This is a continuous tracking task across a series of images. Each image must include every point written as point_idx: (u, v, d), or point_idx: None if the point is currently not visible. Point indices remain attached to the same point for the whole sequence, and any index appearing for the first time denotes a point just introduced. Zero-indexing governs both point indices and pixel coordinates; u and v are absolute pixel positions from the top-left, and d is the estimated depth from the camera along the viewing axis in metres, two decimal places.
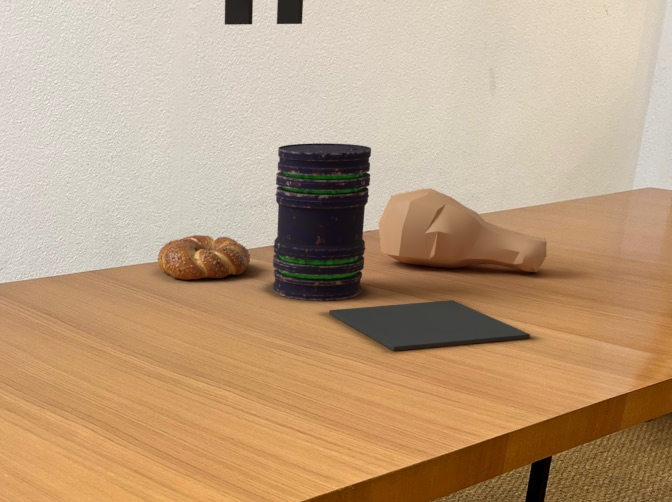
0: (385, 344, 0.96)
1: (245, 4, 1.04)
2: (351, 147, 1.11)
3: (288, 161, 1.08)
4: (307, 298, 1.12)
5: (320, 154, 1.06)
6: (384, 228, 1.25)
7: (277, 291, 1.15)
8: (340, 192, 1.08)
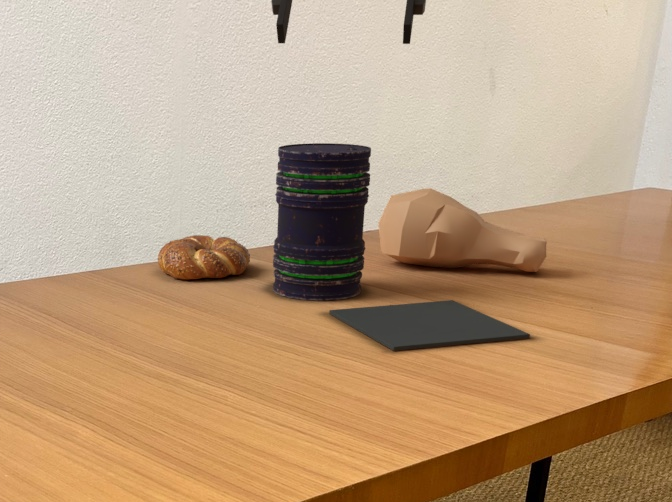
0: (385, 344, 0.96)
1: None
2: (351, 147, 1.11)
3: (288, 161, 1.08)
4: (307, 298, 1.12)
5: (320, 154, 1.06)
6: (384, 228, 1.25)
7: (277, 291, 1.15)
8: (340, 192, 1.08)
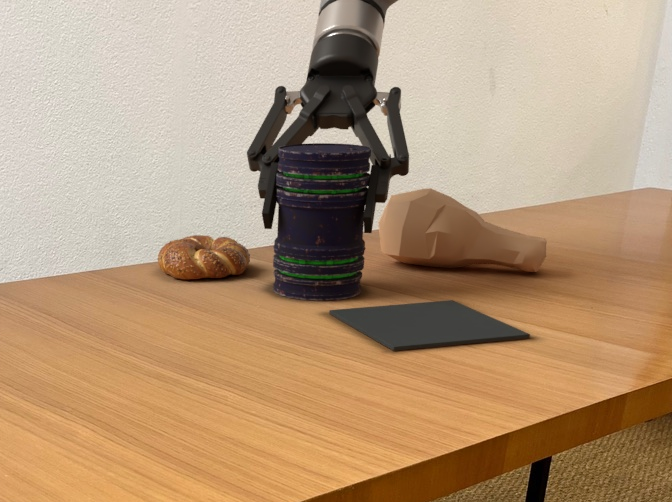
0: (385, 344, 0.96)
1: None
2: (351, 147, 1.11)
3: (288, 161, 1.08)
4: (307, 298, 1.12)
5: (320, 154, 1.06)
6: (384, 228, 1.25)
7: (277, 291, 1.15)
8: (340, 192, 1.08)
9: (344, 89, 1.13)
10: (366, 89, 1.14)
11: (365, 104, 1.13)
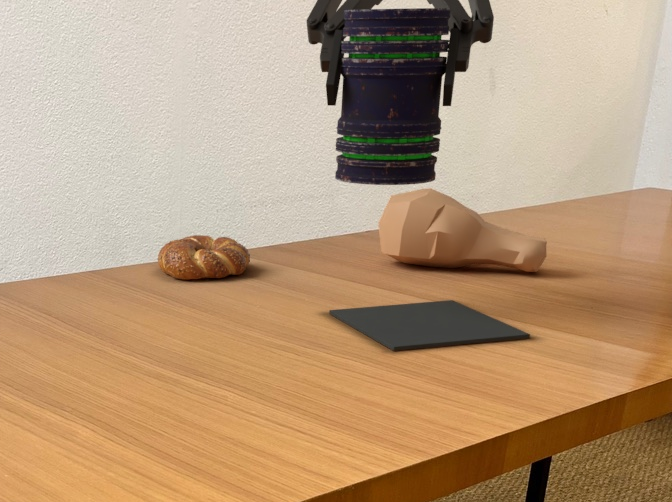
0: (385, 344, 0.96)
1: None
2: None
3: (357, 22, 0.95)
4: (377, 182, 0.99)
5: (395, 10, 0.92)
6: (384, 228, 1.25)
7: (341, 178, 1.01)
8: (417, 57, 0.95)
9: None
10: None
11: None
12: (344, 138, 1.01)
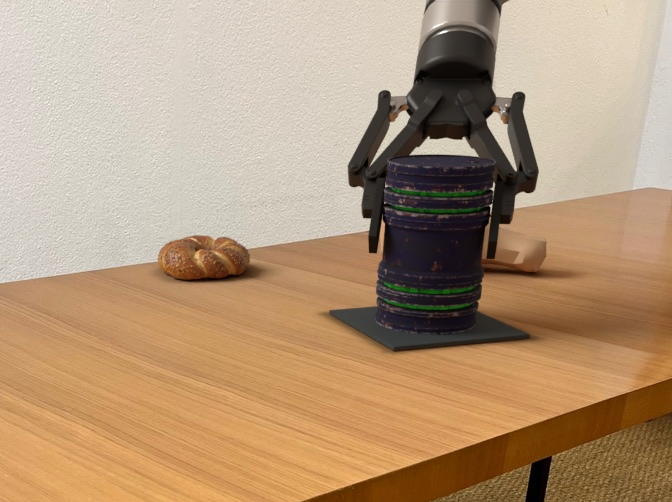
0: (385, 344, 0.96)
1: None
2: (470, 159, 0.97)
3: (402, 176, 0.94)
4: (419, 332, 0.98)
5: (441, 168, 0.92)
6: (384, 228, 1.25)
7: (382, 323, 1.01)
8: (462, 211, 0.94)
9: (460, 94, 0.99)
10: (484, 94, 1.00)
11: (483, 111, 0.99)
12: (385, 283, 1.00)
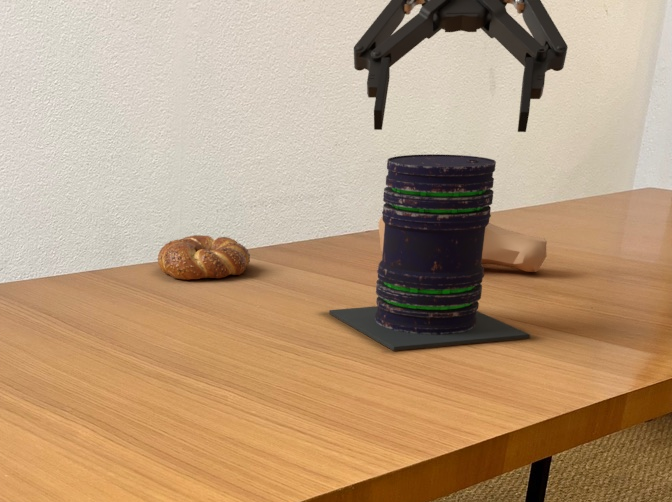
0: (385, 344, 0.96)
1: None
2: (470, 159, 0.97)
3: (402, 176, 0.94)
4: (419, 332, 0.98)
5: (441, 168, 0.92)
6: (384, 228, 1.25)
7: (382, 323, 1.01)
8: (462, 211, 0.94)
9: None
10: None
11: None
12: (385, 283, 1.00)
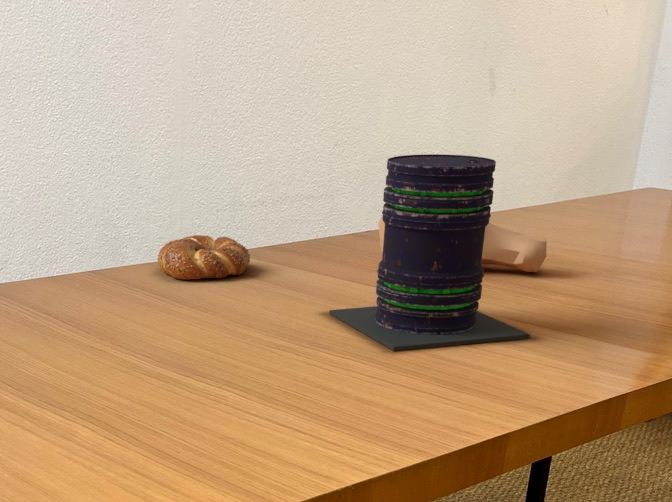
0: (385, 344, 0.96)
1: None
2: (470, 159, 0.97)
3: (402, 176, 0.94)
4: (419, 332, 0.98)
5: (441, 168, 0.92)
6: (384, 228, 1.25)
7: (382, 323, 1.01)
8: (462, 211, 0.94)
9: None
10: None
11: None
12: (385, 283, 1.00)
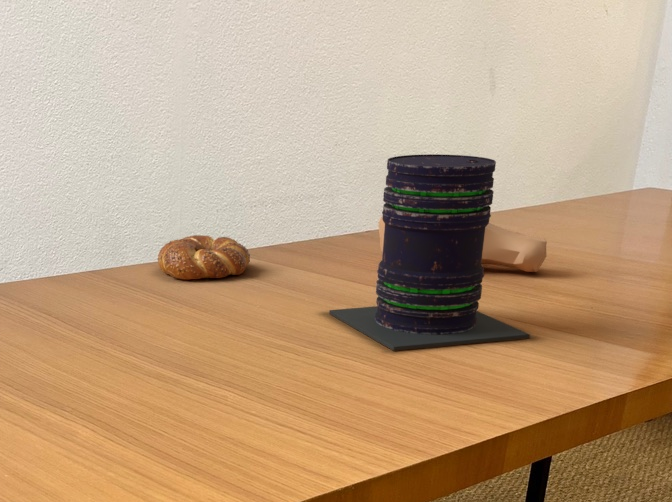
0: (385, 344, 0.96)
1: None
2: (470, 159, 0.97)
3: (402, 176, 0.94)
4: (419, 332, 0.98)
5: (441, 168, 0.92)
6: (384, 228, 1.25)
7: (382, 323, 1.01)
8: (462, 211, 0.94)
9: None
10: None
11: None
12: (385, 283, 1.00)
